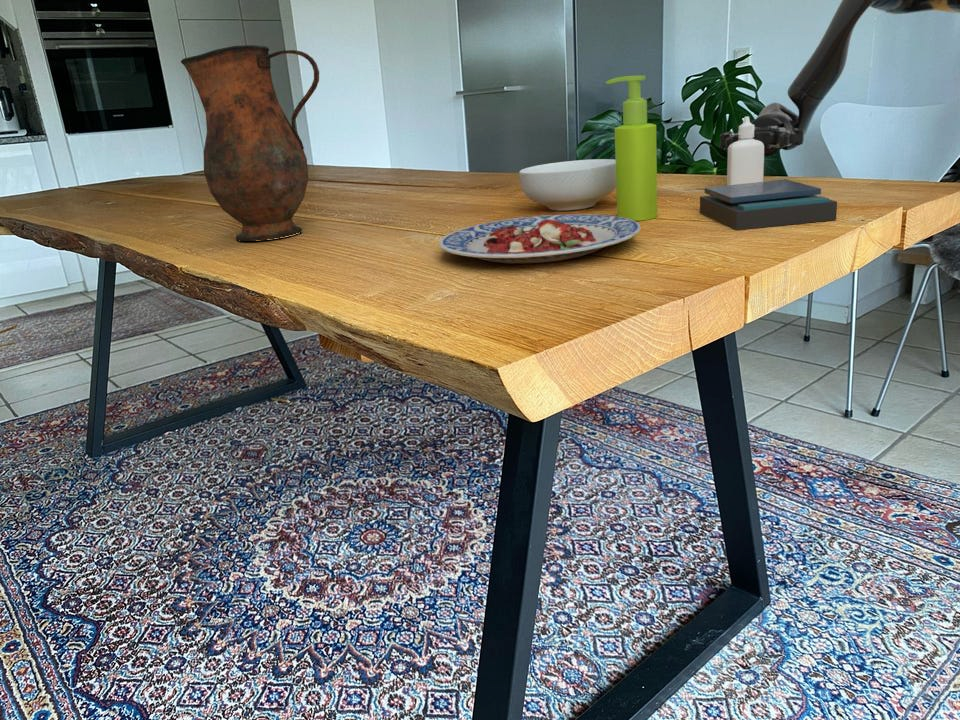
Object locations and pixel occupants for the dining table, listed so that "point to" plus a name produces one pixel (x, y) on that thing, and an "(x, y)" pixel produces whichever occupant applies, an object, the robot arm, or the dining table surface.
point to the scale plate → (762, 191)
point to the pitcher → (251, 140)
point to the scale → (769, 211)
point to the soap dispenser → (635, 156)
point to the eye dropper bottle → (745, 157)
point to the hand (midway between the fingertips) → (755, 142)
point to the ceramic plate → (539, 238)
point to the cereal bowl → (569, 183)
